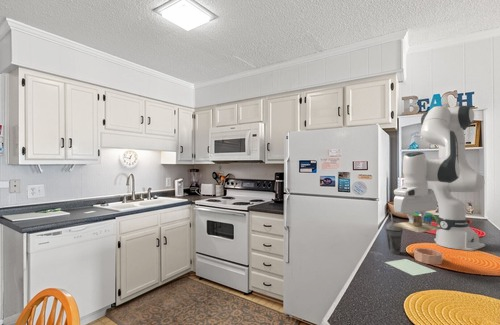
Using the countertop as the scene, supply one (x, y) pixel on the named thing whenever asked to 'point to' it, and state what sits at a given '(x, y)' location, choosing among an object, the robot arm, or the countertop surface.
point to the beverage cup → (393, 237)
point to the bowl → (428, 256)
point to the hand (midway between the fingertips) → (416, 222)
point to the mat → (410, 267)
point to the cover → (417, 225)
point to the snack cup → (427, 218)
